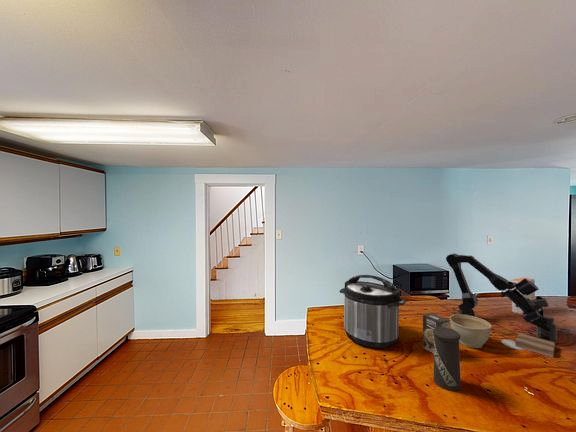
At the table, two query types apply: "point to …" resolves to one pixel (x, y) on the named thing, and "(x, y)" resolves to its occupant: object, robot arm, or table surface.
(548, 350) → the light brown block
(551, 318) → the supplement bottle
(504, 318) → the table surface
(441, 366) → the container
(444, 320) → the coffee box
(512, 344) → the grey coaster
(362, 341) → the pressure cooker
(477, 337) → the planter bowl
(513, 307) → the cracker box
